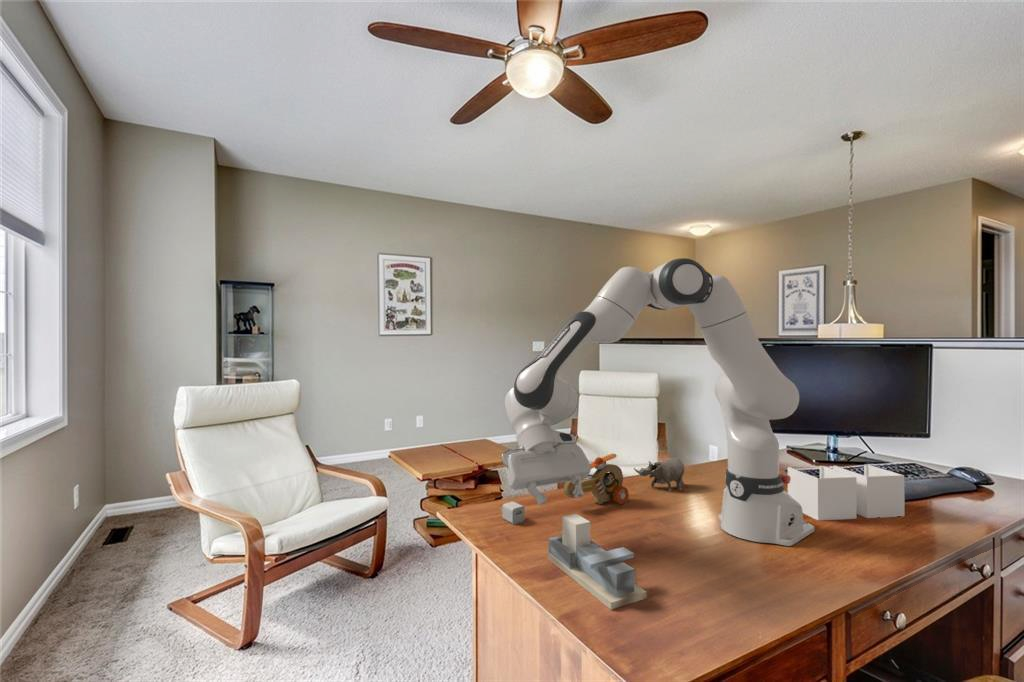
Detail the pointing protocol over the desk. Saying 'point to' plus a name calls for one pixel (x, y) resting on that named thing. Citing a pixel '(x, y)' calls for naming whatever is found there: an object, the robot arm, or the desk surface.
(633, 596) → the jig
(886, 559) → the desk surface
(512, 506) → the usb wall charger
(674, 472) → the rhinoceros figurine
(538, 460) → the robot arm
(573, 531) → the cream upright slab block
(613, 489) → the toy helicopter
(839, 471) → the storage container
